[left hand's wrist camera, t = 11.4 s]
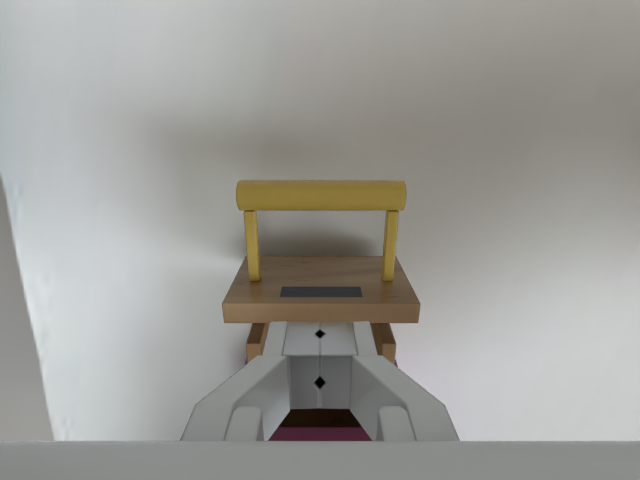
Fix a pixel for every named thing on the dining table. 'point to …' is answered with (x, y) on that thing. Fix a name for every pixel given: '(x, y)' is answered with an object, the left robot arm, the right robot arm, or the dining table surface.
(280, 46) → the dining table surface
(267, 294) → the drawer
